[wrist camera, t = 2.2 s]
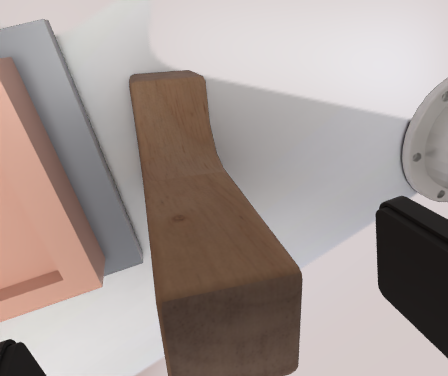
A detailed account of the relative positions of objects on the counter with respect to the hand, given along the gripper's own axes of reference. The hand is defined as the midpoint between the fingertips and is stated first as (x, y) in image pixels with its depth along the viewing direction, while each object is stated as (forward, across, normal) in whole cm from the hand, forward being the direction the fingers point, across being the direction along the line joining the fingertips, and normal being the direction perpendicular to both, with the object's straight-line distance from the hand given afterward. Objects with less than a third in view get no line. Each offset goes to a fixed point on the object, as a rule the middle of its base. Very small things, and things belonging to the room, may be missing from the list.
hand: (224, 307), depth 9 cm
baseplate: (+19, +12, 0) cm, 23 cm away
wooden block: (+19, -1, 0) cm, 19 cm away
